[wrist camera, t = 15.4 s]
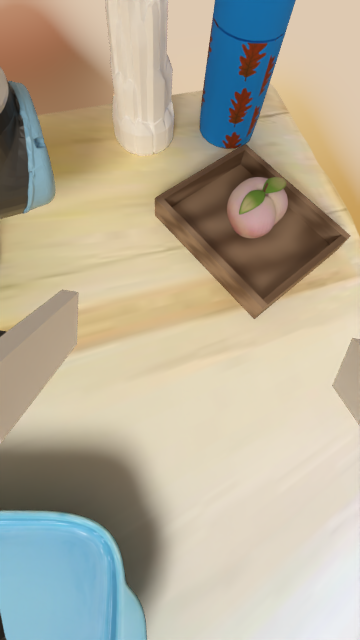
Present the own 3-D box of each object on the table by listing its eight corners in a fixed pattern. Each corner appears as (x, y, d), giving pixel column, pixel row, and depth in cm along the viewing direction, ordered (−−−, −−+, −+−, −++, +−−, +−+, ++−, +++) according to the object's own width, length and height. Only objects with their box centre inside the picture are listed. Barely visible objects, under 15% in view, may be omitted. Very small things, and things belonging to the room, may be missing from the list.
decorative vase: (184, 137, 59) (201, -57, 36) (141, 164, 56) (131, -29, 33) (146, 106, 62) (139, -95, 38) (103, 130, 59) (68, -73, 35)
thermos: (199, 107, 63) (224, -89, 40) (251, 112, 63) (307, -78, 40) (197, 146, 59) (224, -45, 36) (253, 152, 59) (316, -34, 36)
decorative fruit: (242, 198, 54) (260, 148, 44) (281, 225, 52) (308, 179, 43) (209, 231, 51) (220, 185, 42) (249, 261, 49) (270, 219, 40)
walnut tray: (155, 215, 52) (154, 198, 49) (239, 162, 58) (245, 143, 54) (254, 319, 47) (262, 308, 43) (336, 250, 53) (350, 235, 49)
